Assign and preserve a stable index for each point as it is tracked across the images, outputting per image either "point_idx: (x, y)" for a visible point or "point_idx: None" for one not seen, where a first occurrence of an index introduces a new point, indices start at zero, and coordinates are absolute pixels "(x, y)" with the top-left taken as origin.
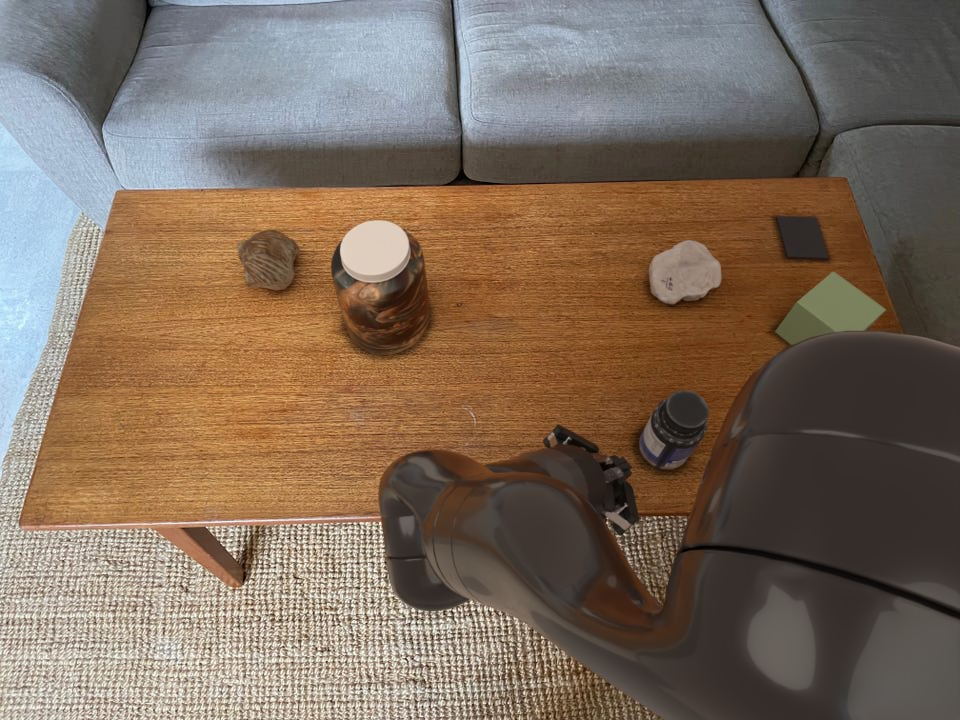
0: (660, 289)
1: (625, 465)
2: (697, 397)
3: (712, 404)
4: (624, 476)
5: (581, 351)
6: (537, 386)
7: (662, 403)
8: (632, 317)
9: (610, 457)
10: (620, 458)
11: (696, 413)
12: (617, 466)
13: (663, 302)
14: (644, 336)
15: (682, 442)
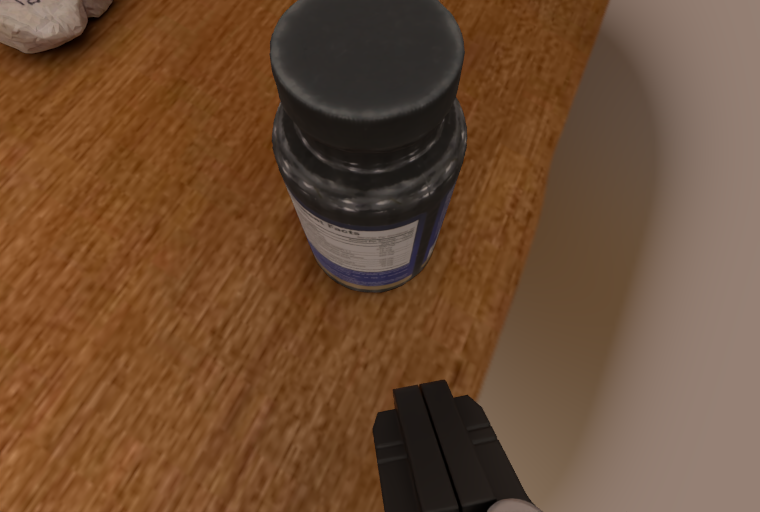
0: (16, 17)
1: (448, 421)
2: None
3: None
4: (512, 474)
5: (26, 274)
6: (14, 460)
7: (282, 139)
8: (49, 120)
9: (387, 476)
10: (405, 421)
11: (404, 25)
12: (468, 501)
13: (60, 40)
14: (108, 123)
15: (454, 160)
